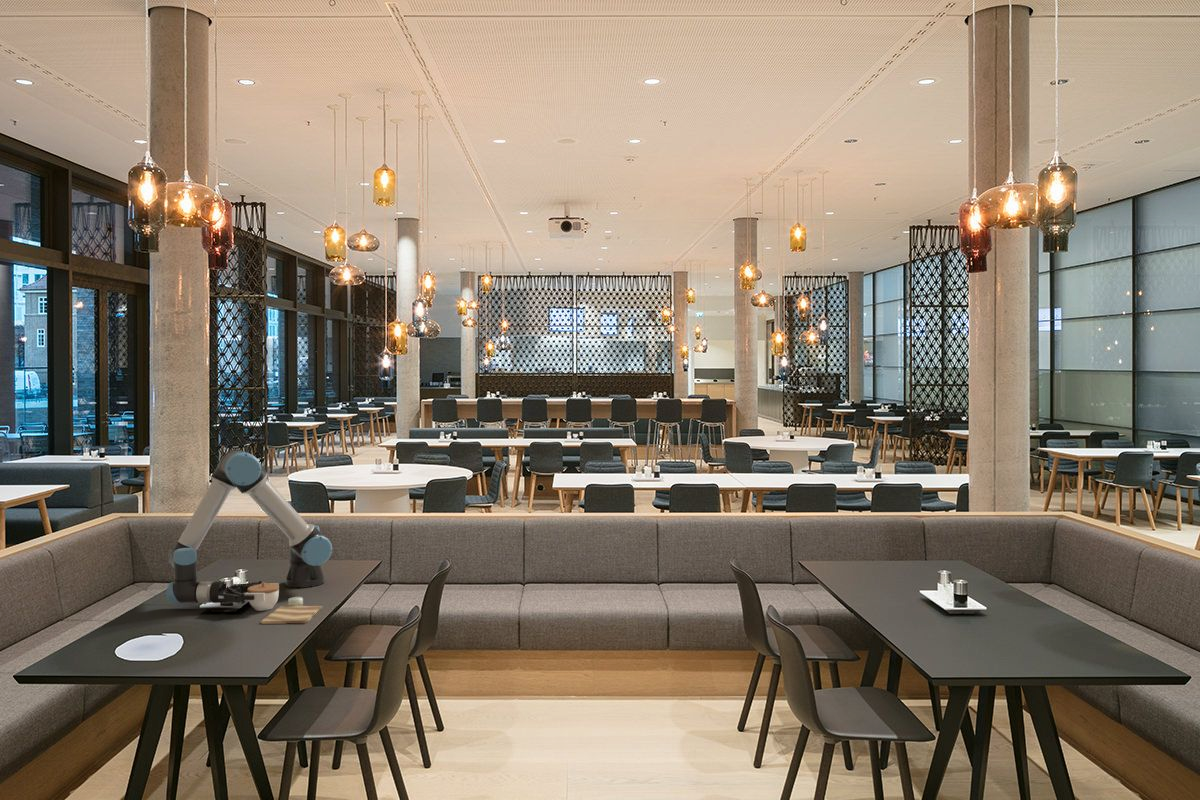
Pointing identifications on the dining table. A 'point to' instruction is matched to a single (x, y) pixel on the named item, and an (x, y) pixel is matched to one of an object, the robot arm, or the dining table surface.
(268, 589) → the lidded jar
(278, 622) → the wooden cutting board
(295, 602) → the sage dish
